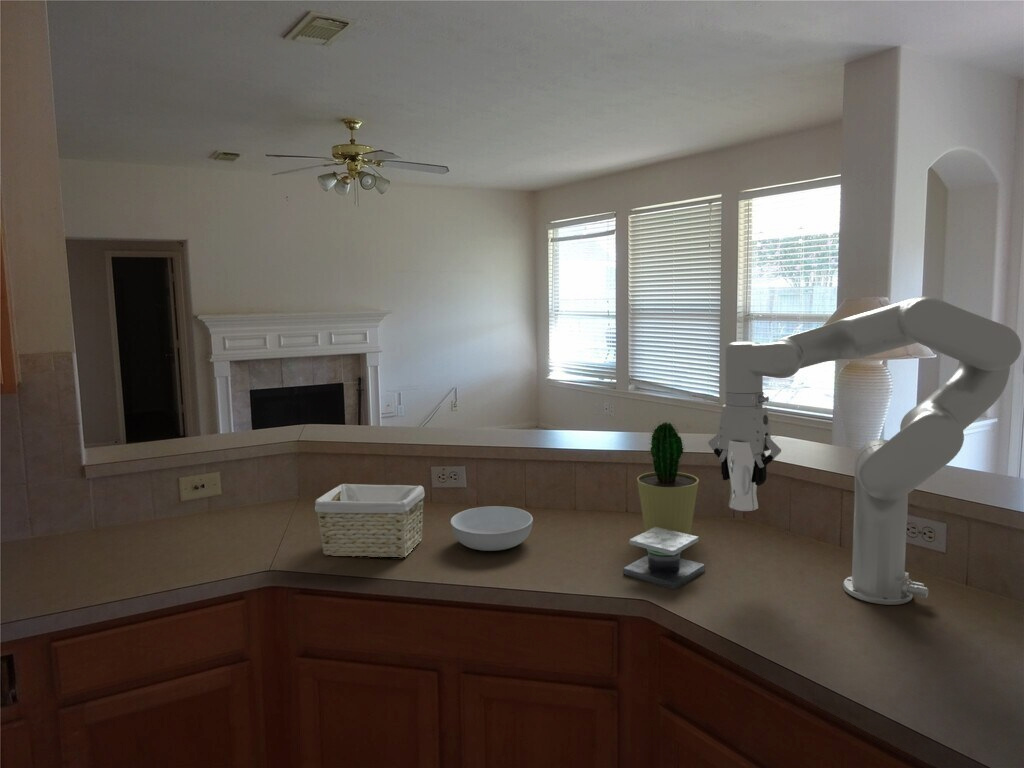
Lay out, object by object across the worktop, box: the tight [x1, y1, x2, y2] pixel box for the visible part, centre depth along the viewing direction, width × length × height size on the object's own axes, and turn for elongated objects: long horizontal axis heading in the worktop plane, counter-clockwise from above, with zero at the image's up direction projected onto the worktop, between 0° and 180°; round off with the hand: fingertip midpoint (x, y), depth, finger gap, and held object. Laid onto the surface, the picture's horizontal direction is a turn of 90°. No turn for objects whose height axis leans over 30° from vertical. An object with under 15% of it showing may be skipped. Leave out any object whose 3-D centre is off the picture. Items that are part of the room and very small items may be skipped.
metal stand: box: [622, 527, 706, 591], centre depth 158 cm, size 13×13×8 cm
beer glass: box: [727, 440, 759, 512], centre depth 152 cm, size 7×7×15 cm
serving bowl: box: [450, 505, 534, 552], centre depth 179 cm, size 21×21×7 cm
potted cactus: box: [636, 421, 700, 535], centre depth 181 cm, size 15×15×30 cm
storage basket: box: [314, 483, 426, 559], centre depth 179 cm, size 24×16×15 cm
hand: (743, 480), depth 153 cm, fingers closed on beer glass, 6 cm apart
